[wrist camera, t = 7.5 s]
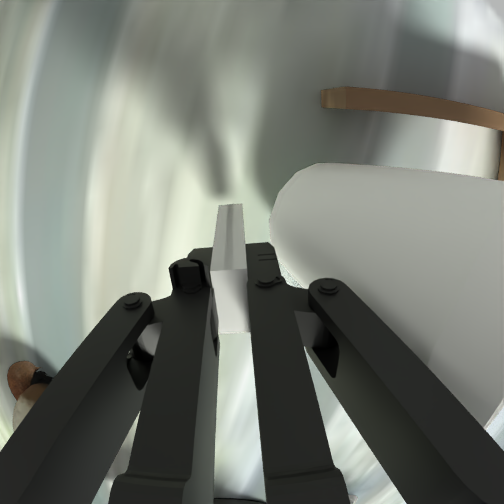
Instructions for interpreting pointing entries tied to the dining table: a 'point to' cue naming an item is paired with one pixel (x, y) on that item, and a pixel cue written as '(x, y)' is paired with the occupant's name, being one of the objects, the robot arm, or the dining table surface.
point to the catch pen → (414, 108)
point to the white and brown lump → (25, 387)
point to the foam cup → (409, 262)
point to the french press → (352, 499)
